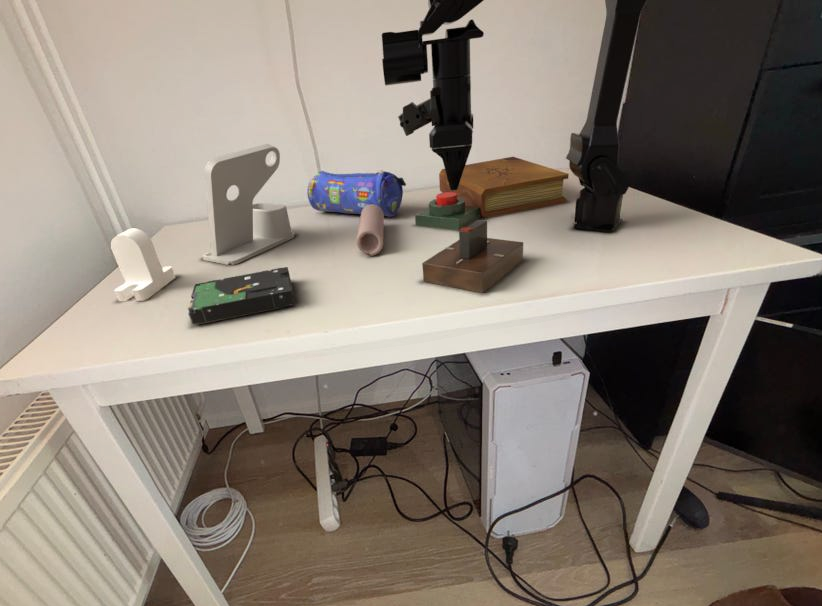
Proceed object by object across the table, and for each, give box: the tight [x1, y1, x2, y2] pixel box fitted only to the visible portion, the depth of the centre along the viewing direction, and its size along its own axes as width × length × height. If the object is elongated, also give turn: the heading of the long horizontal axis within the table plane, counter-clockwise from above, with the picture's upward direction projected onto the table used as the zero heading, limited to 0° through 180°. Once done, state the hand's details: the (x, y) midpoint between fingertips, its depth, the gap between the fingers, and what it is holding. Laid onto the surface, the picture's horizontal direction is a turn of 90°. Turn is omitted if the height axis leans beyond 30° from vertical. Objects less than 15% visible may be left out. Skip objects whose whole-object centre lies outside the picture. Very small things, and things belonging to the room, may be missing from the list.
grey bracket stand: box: [202, 143, 295, 266], centre depth 93 cm, size 17×10×18 cm, turn 145°
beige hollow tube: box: [356, 204, 385, 257], centre depth 91 cm, size 5×5×18 cm
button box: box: [414, 197, 481, 232], centre depth 96 cm, size 10×8×4 cm
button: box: [435, 192, 457, 205], centre depth 94 cm, size 4×4×2 cm
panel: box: [421, 237, 524, 294], centre depth 74 cm, size 10×13×3 cm
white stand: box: [110, 227, 176, 302], centre depth 81 cm, size 5×10×10 cm, turn 170°
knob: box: [458, 219, 488, 259], centre depth 72 cm, size 6×2×4 cm, turn 142°
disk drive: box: [187, 266, 295, 325], centre depth 73 cm, size 10×3×15 cm
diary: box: [438, 156, 569, 219], centre depth 105 cm, size 23×19×6 cm
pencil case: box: [306, 169, 407, 218], centre depth 107 cm, size 22×9×10 cm, turn 58°
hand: (455, 183), depth 82 cm, fingers open, 9 cm apart
